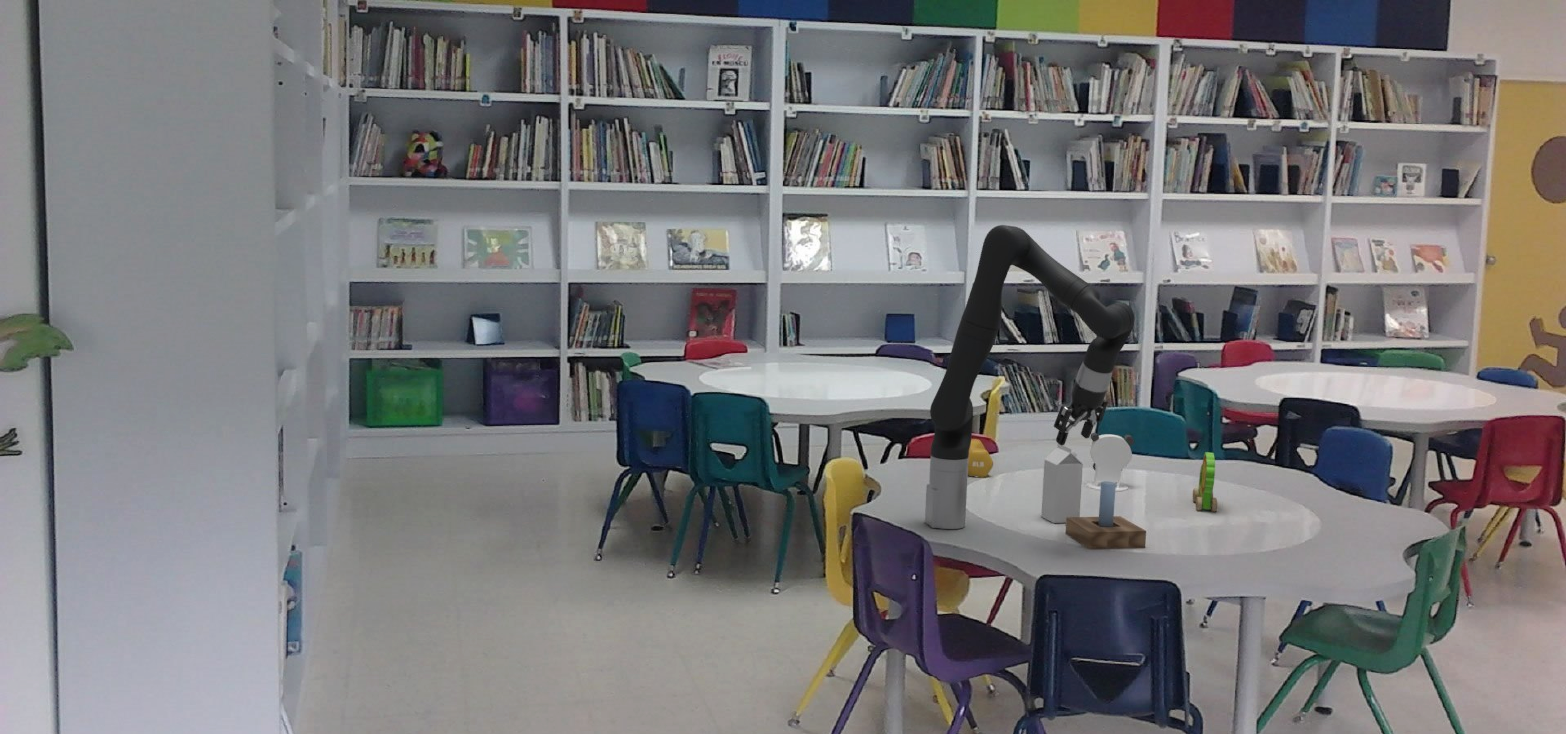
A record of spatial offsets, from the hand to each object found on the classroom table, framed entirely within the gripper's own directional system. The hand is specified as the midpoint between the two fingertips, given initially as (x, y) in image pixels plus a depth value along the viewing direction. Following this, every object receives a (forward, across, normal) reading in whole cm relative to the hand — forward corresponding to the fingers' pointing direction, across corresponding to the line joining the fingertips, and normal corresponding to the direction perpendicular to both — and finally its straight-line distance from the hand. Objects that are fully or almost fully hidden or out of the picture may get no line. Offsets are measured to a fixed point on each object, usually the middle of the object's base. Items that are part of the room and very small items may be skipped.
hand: (1072, 440), depth 326 cm
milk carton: (+28, -9, -2) cm, 30 cm away
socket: (+20, -4, +16) cm, 25 cm away
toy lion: (+29, -54, +9) cm, 62 cm away
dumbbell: (+51, -31, -50) cm, 78 cm away
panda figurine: (+40, -50, -18) cm, 66 cm away
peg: (+20, -4, +16) cm, 25 cm away
